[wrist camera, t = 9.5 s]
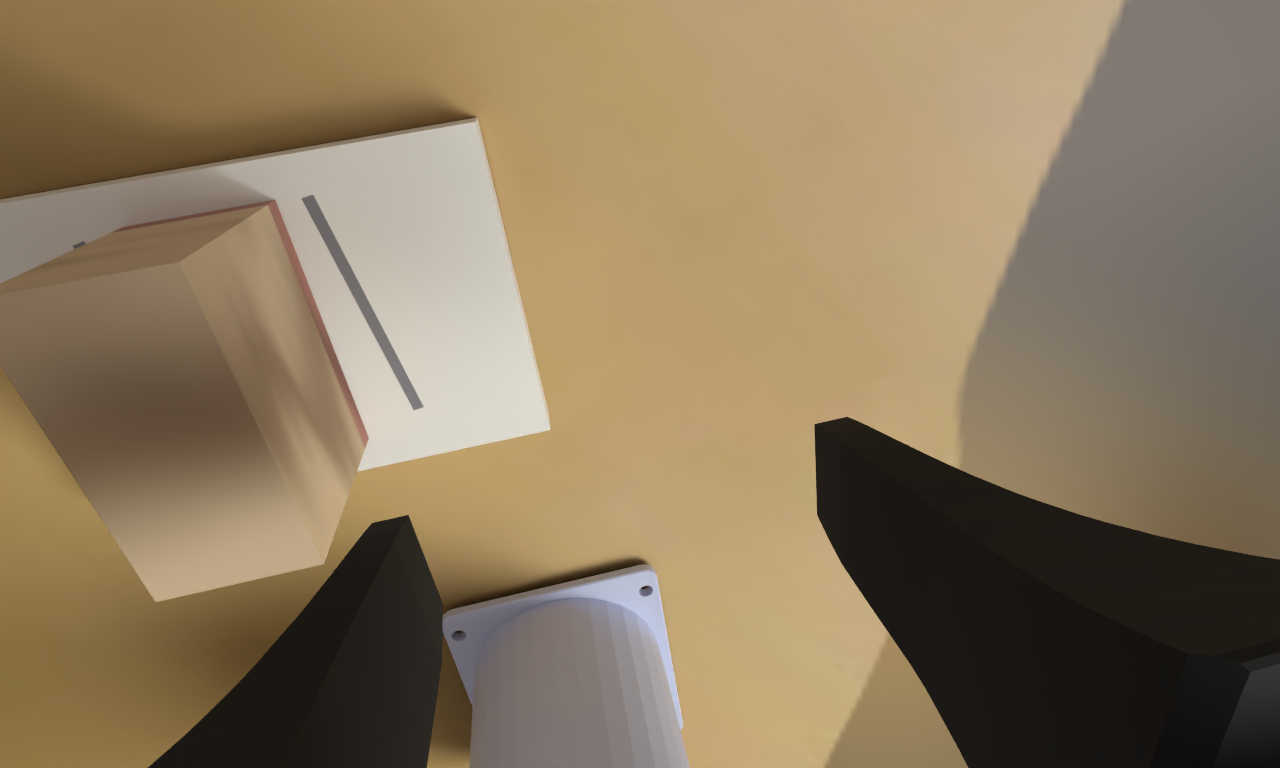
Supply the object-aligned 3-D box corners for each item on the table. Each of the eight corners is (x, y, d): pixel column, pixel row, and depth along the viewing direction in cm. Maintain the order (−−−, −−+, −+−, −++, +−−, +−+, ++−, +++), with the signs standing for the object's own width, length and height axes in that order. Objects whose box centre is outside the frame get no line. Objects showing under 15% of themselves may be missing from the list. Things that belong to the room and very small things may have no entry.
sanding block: (369, 438, 20) (324, 564, 15) (242, 464, 20) (155, 602, 15) (275, 200, 17) (179, 262, 12) (122, 226, 16) (-41, 302, 11)
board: (547, 411, 22) (550, 430, 21) (129, 500, 21) (109, 525, 20) (477, 117, 18) (475, 121, 17) (-51, 208, 17) (-90, 219, 15)
